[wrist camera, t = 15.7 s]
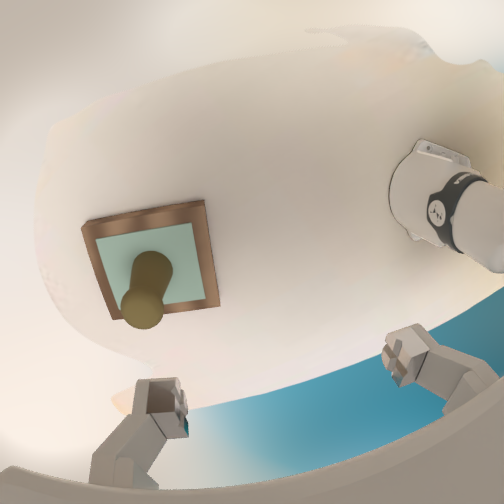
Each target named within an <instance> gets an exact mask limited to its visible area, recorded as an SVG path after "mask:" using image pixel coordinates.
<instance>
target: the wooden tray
mask: <svg viewBox="0 0 504 504" xmlns="http://www.w3.org/2000/svg"><path fill="white" fill-rule="evenodd" d="M81 231H82V234H83V238H84V241H85V244H86V248H87V251H88V254H89V257H90V260H91V263H92V266H93V269H94V272H95V275H96V278H97V281H98V284H99V286H100V289H101V292H102V294H103V297H104V300H105V302H106V305H107V307H108V310H109V312H110V315H111V317H112V320H117V319H124V318H123V316H122V314H121V308H120V304H121V300H122V297H123V295H124V294H125V293H126V292H127V291H128V290H129V285H130V278H131V271H132V265H133V262H134V259H135V258H136V257H137V255H139V254H141V253H142V252H145V251H157V252H160V253H162V254H163V255H165V256H166V257H167V258H168V259H169V260H170V262H171V264H172V267H173V275H172V278H171V280H170V283H169V285H168V287H167V290H166V292H165V294H164V297H163V299H162V300H163V303H164V314H169V313H177V312H184V311H191V310H199V309H206V308H212V307H219V306H220V298H219V292H218V286H217V280H216V274H215V268H214V262H213V256H212V250H211V244H210V237H209V231H208V224H207V218H206V211H205V204H204V200H201V201H194V202H188V203H181V204H175V205H169V206H163V207H157V208H152V209H146V210H141V211H135V212H130V213H125V214H119V215H114V216H109V217H104V218H100V219H95V220H90V221H87V222H86V223H85V224H84V225H83V226H82V227H81Z"/></svg>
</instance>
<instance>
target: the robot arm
mask: <svg viewBox="0 0 504 504" xmlns="http://www.w3.org/2000/svg"><path fill="white" fill-rule="evenodd" d="M427 147H428V148H427ZM389 198H390V207H391V210H392V213H393V215H394V217H395V219H396V220H397V221H398V223H399V224H401V225H402V226H403V227H405V228H406V229H407V231H408V234H409V236H410V238H411V239H413V240H415V241H418V240H421V239H424V240H426V241H428V242H430V243H432V244H434V245H436V246H438V247H442V246H445V245H447V246H448V247H449V248H450V249H452V250H454V251H457V252H458V253H461V254H466V255H467V256H469V257H470V258H472V259H473V260H475V261H476V262H478V263H479V264H481V265H482V266H483V267H485V268H486V269H488V270H489V271H491V272H493V273H500V274H502V273H504V188H501V187H498V186H495V185H492V184H490V183H488V181H486V180H485V179H484V178H482V177H481V174H480V172H479V171H477V170H474V169H472V168H471V163H470V160H469V157H466V156H464V155H462V154H460V153H457V152H455V151H452V150H450V149H447V148H445V147H442V146H440V145H437V144H434V143H432V142H429V141H426V140H423V139H420V140H418V141H417V143H416V145H415V147H414V149H413V151H412V152H411V153H410V154H409V155H408V156H407V157H406V158H405V159H404V160H403V161H402V162H401V163H400V164H399V166H398V167H397V169H396V171H395V173H394V175H393V178H392V181H391V186H390V194H389ZM385 341H386V343H387V344H386V345H385V347H384V348H383V350H382V361H383V364H384V366H385V368H386V369H387V370H389V371H391V372H392V378H393V380H394V381H395V382H396V384H397V386H398V387H402V386H405V385H407V384H410V383H412V382H415V381H416V383H417V384H419V385H421V386H422V387H424V388H426V389H428V390H429V391H431V392H433V393H434V394H436V395H438V396H440V397H442V398H443V399H445V400H447V401H448V402H447V403H446V405H445V406H444V408H443V411H442V412H443V414H444V415H445V416H443V417H441V418H440V419H438V420H436V421H434V422H432V423H431V424H429V425H427V426H425V427H423V428H421V429H419V430H417V431H415V432H413V433H411V434H409V435H407V436H405V437H403V438H401V439H398V440H396V441H394V442H392V443H389V444H387V445H384V446H382V447H380V448H377V449H375V450H372V451H370V452H367V453H364V454H362V455H359V456H356V457H353V458H351V459H348V460H345V461H342V462H339V463H336V464H332V465H329V466H326V467H322V468H319V469H315V470H312V471H308V472H304V473H300V474H296V475H292V476H287V477H283V478H278V479H273V480H268V481H262V482H256V483H250V484H243V485H236V486H226V487H216V488H204V489H185V490H184V489H183V490H159V485H158V483H156V482H155V481H154V480H153V479H152V478H151V477H150V476H149V475H148V474H147V472H148V470H149V469H150V467H151V465H152V464H153V462H154V461H155V459H156V457H157V456H158V454H159V452H160V451H161V449H162V448H163V446H164V444H165V443H166V441H167V439H175V438H187V437H189V433H188V432H189V431H188V421H187V419H186V415H187V414H188V406H187V399H186V396H185V393H184V390H182V389H180V381H179V379H178V377H173V378H156V379H139V380H138V381H137V383H136V388H135V394H134V401H133V409H132V414H129V415H127V416H126V418H125V419H124V420H123V421H122V422H121V423H120V424H119V425H118V426H117V428H116V429H115V430H114V431H113V432H112V433H111V434H110V435H109V436H108V438H107V439H106V440H105V441H104V442H103V443H102V444H101V445H100V446H99V448H98V449H97V450H96V451H95V452H94V453H93V455H92V462H91V469H90V475H89V483H82V482H77V481H71V480H66V479H61V478H57V477H53V476H49V475H45V474H41V473H37V472H33V471H30V470H27V469H24V468H21V467H17V466H10V467H8V468H6V469H5V470H3V471H2V472H1V473H0V504H504V376H503V377H502V378H499V377H498V375H497V374H496V373H495V372H494V371H493V370H492V369H491V368H490V366H489V365H488V364H487V363H486V362H485V361H484V360H481V359H478V358H475V357H473V356H470V355H468V354H465V353H462V352H460V351H457V350H454V349H452V348H449V347H447V346H444V345H441V346H440V345H439V344H438V343H437V342H436V341H435V340H434V339H433V338H432V337H431V335H430V334H429V333H428V332H427V331H426V330H425V329H424V328H423V327H422V326H421V325H420V324H418V323H417V324H414V325H411V326H408V327H405V328H402V329H399V330H396V331H394V332H391V333H388V334H387V336H386V339H385Z"/></svg>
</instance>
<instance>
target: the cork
mask: <svg viewBox="0 0 504 504" xmlns="http://www.w3.org/2000/svg"><path fill="white" fill-rule="evenodd" d="M172 275H173V267H172V264H171V262H170V260H169V259H168V258H167V257H166V256H165V255H163V254H162V253H160V252H157V251H145V252H142V253H141V254H139V255H137V257H136V258H135V259H134V262H133V265H132V271H131V278H130V285H129V290H128V291H127V292H126V293H125V294H124V295H123V297H122V300H121V304H120V308H121V314H122V316H123V318H124V319H125V321H126V322H127V323H128V324H129V325H131V326H133V327H135V328H138V329H150V328H152V327H154V326H156V325H157V324H158V323H159V322H160V321H161V319H162V317H163V314H164V303H163V300H162V299H163V297H164V294H165V292H166V290H167V287H168V285H169V283H170V280H171V278H172Z"/></svg>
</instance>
